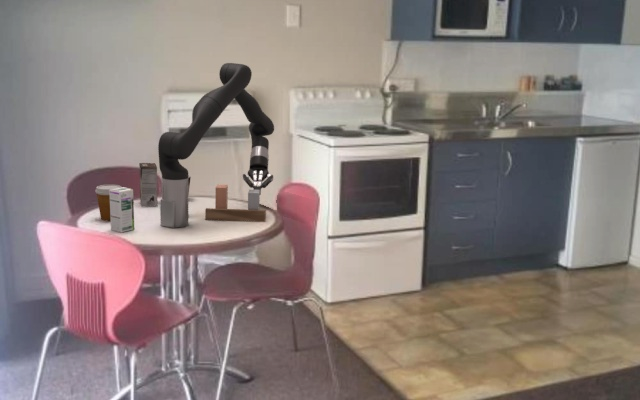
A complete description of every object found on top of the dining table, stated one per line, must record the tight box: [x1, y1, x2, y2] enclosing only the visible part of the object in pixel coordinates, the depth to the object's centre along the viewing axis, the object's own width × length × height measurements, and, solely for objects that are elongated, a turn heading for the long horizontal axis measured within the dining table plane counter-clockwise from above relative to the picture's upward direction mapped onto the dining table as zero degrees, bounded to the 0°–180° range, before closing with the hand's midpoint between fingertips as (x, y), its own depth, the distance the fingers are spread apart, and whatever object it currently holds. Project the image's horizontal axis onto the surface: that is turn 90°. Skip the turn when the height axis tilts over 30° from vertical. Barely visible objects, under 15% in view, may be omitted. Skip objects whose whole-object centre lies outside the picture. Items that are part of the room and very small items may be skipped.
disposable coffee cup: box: [94, 184, 122, 222], centre depth 245 cm, size 10×10×12 cm
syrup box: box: [109, 186, 135, 234], centre depth 231 cm, size 6×6×14 cm
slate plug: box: [247, 189, 261, 210], centre depth 255 cm, size 6×4×10 cm, turn 2°
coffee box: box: [139, 162, 158, 208], centre depth 269 cm, size 9×6×16 cm
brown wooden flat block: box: [204, 207, 267, 223], centre depth 256 cm, size 12×22×4 cm, turn 92°
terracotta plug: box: [214, 183, 229, 209], centre depth 262 cm, size 6×4×10 cm, turn 2°
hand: (256, 195), depth 267 cm, fingers closed
